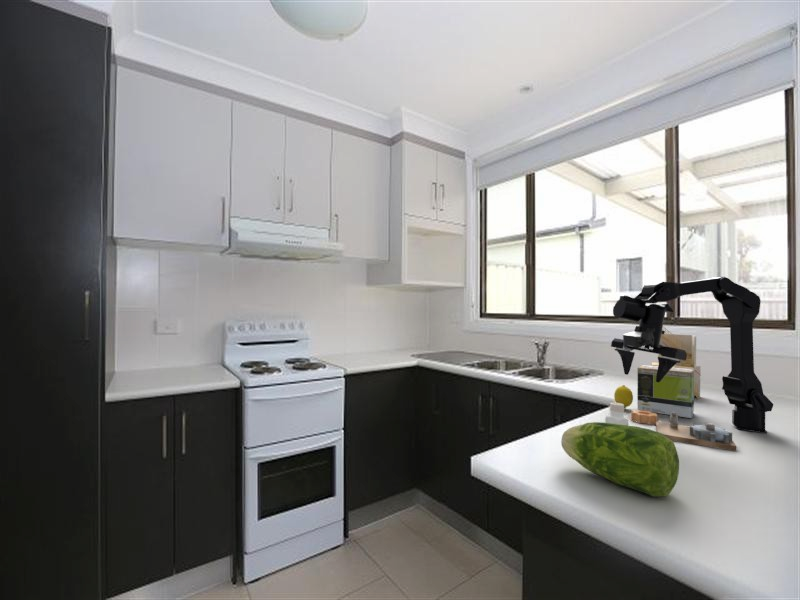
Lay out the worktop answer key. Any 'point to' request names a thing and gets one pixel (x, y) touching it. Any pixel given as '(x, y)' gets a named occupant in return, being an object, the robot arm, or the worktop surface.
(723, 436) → the gear board
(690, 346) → the cream block pieces
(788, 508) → the worktop surface
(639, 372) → the tea box
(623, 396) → the lemon
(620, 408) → the pepper shaker
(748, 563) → the worktop surface
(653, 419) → the gear
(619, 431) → the lettuce
